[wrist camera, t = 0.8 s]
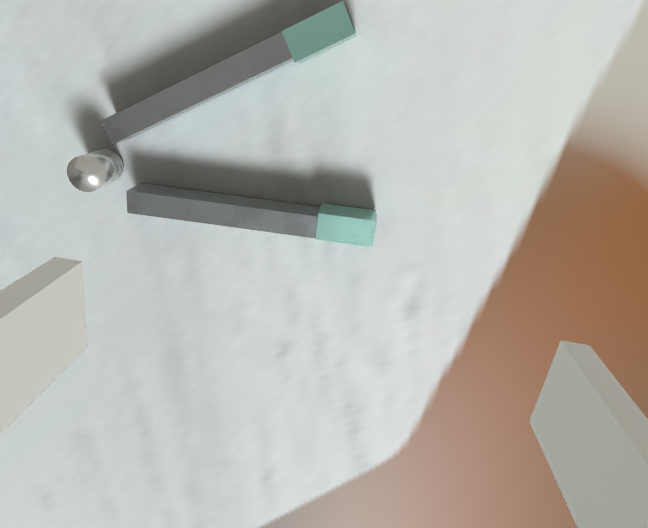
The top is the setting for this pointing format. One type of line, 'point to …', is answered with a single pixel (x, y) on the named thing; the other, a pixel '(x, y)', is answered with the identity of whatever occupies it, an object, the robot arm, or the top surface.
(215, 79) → the tongs free arm
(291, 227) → the arm
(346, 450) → the top surface
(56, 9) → the top surface
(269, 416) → the top surface
